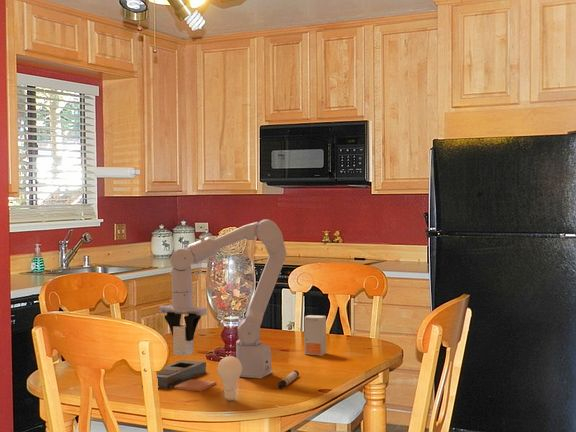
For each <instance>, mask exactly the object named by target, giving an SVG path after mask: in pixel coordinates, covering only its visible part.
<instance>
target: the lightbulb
mask: <svg viewBox="0 0 576 432" xmlns="http://www.w3.org/2000/svg"><path fill="white" fill-rule="evenodd" d="M216 371H217V373H218V376H219V378H220V379H221V382H222V385H223V390H224V397H225V399H227V400H228V401H233V400H234V399H236V393H237V392H236V390H237V388H238V387H237V385H238V381H239V379H240V375H241V372H242V365H241V362H240V361H239V360H238V359H237V358H236V356H233V355H229V356H227V355H226V356H224V357H223V358H222V359H221V358H220V360H219V362H218V365H217V370H216Z"/></svg>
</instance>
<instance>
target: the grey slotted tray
mask: <svg viewBox="0 0 576 432" xmlns="http://www.w3.org/2000/svg"><path fill="white" fill-rule="evenodd" d="M206 365H207V362H206V361H201V360H191V359H190V360H189V359H181V360H178V361H176V362H173V363H170V364H167V365H165V367H164V366H163V367H164V369H163V370H161V371H159V372H157V378H158V386H159V388H158V389H166V390H168V389H170V388H172V387H174V386H176V385H178V384H181V383H183V382H185V381H188V380H190V379H193V378H196V377H198V376H200V375H203V374H206V373H207V366H206Z"/></svg>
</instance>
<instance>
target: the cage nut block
mask: <svg viewBox="0 0 576 432" xmlns="http://www.w3.org/2000/svg"><path fill="white" fill-rule="evenodd" d="M172 341H173V342H172V344H173V355H174V356H181V357H182V356H184V357H187V356H190V355H192V354H194V339H193V340H191V341H187V329H186V323H180V324H179V325H176V326H173V336H172Z"/></svg>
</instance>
